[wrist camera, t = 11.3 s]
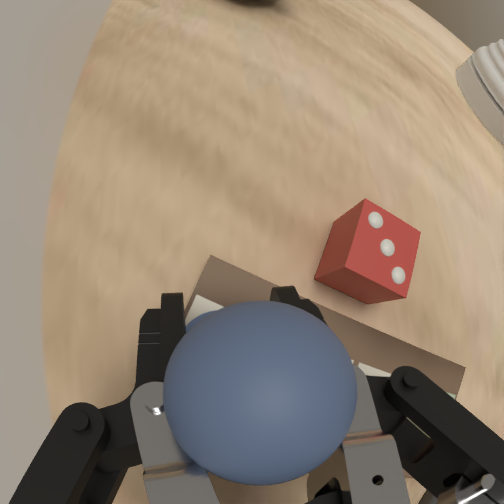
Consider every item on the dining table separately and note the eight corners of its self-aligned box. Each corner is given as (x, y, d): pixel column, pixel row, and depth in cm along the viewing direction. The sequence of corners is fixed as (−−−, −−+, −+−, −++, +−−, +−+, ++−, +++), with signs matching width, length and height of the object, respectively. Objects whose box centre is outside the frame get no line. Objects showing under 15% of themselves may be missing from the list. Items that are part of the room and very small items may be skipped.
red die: (334, 221, 20) (365, 197, 16) (383, 248, 20) (421, 231, 16) (313, 278, 18) (345, 266, 15) (367, 304, 19) (407, 297, 15)
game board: (209, 258, 18) (210, 254, 17) (456, 366, 19) (466, 367, 18) (145, 404, 15) (142, 408, 14) (414, 474, 17) (422, 478, 16)
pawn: (197, 296, 16) (211, 228, 5) (274, 331, 16) (434, 333, 5) (163, 373, 15) (102, 481, 3) (242, 406, 15) (341, 539, 4)
